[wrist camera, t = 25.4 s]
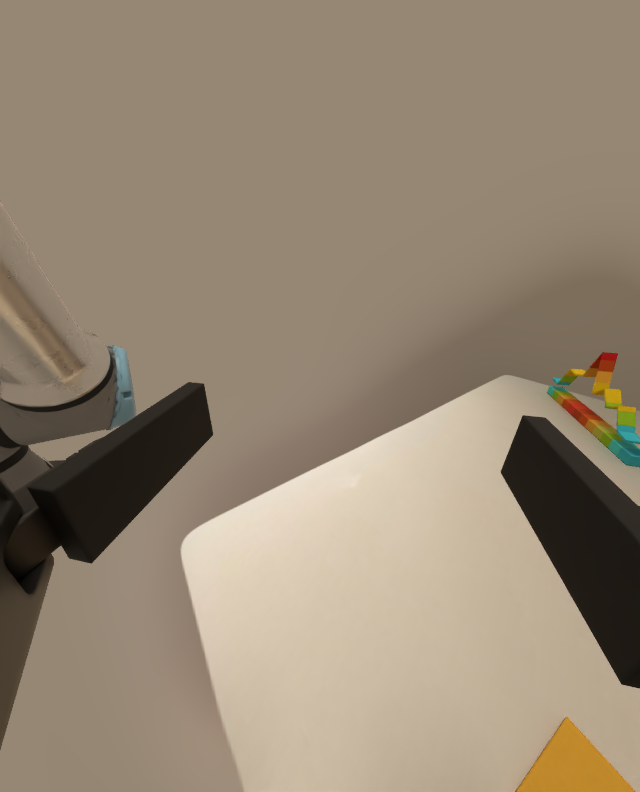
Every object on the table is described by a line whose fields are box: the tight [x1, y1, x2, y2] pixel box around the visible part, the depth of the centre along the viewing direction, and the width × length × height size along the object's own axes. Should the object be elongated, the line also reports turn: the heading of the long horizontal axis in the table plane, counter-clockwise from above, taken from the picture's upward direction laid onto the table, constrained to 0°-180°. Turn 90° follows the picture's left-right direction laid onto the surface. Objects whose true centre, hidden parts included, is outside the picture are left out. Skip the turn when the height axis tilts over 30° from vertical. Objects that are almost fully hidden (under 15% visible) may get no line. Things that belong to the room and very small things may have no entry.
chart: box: [547, 352, 640, 467], centre depth 58 cm, size 30×3×15 cm, turn 165°
